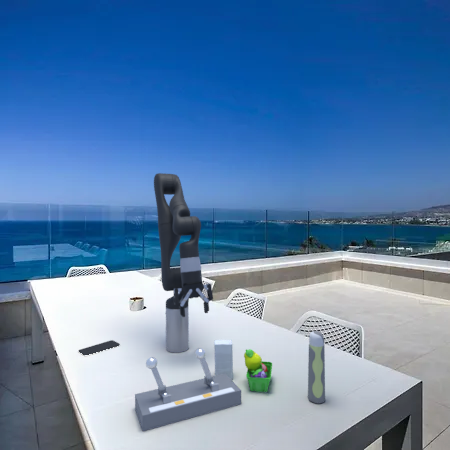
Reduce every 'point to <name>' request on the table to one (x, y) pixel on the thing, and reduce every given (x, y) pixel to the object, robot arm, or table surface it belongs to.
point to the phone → (99, 347)
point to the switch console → (185, 401)
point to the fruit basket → (257, 371)
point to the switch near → (156, 374)
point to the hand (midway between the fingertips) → (195, 314)
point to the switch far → (204, 365)
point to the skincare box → (223, 358)
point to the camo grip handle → (316, 368)
